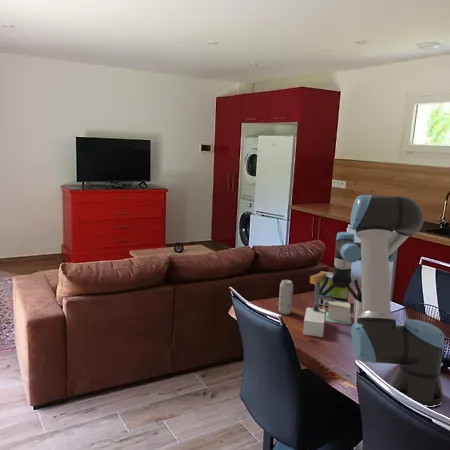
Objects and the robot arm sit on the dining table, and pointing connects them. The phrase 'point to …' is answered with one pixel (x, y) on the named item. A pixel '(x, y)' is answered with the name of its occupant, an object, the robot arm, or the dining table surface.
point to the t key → (316, 280)
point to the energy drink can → (285, 297)
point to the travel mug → (358, 306)
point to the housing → (314, 322)
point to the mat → (338, 320)
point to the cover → (339, 311)
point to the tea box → (334, 292)
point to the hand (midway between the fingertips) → (338, 312)
